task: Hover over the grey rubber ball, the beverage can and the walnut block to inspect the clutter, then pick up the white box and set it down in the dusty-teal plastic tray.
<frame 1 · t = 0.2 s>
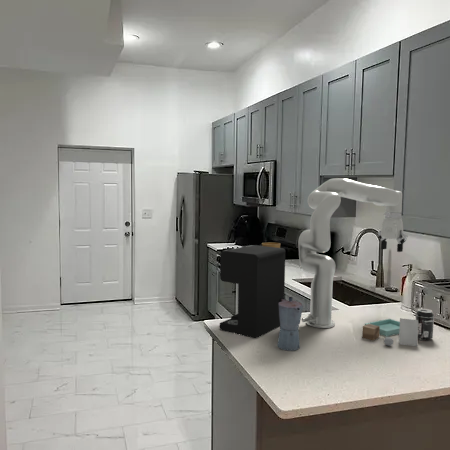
hand: (391, 250, 228), 31 cm above the counter, tool pointing down, fingers open, 9 cm apart
moka pot: (287, 347, 179), on the counter
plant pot: (270, 263, 370), on the counter
beverage can: (423, 338, 191), on the counter
grey ball: (388, 345, 182), on the counter
walnut block: (370, 338, 191), on the counter
white box: (407, 344, 184), on the counter
coffee maker: (254, 326, 205), on the counter
tray: (387, 329, 202), on the counter
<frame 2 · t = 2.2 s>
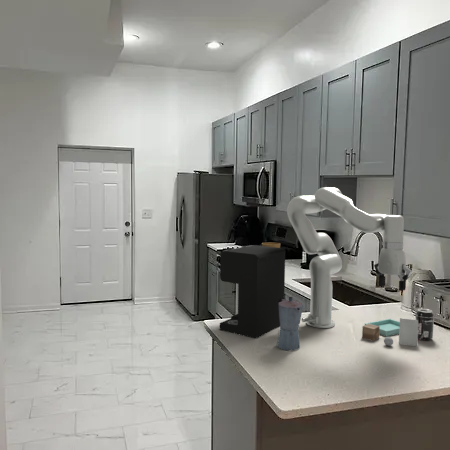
hand: (391, 288, 185), 22 cm above the counter, tool pointing down, fingers open, 9 cm apart
nothing on the counter moved.
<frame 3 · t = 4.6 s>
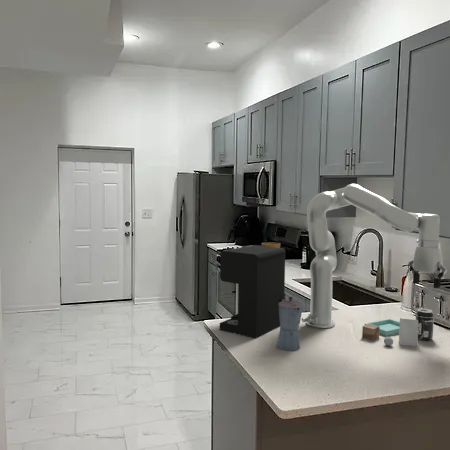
hand: (426, 285, 189), 22 cm above the counter, tool pointing down, fingers open, 9 cm apart
nothing on the counter moved.
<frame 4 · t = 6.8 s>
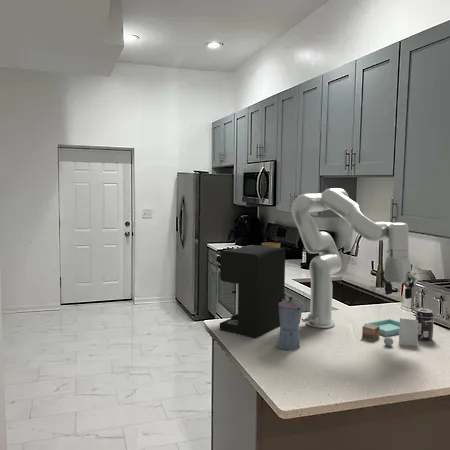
hand: (398, 296, 184), 19 cm above the counter, tool pointing down, fingers open, 9 cm apart
nothing on the counter moved.
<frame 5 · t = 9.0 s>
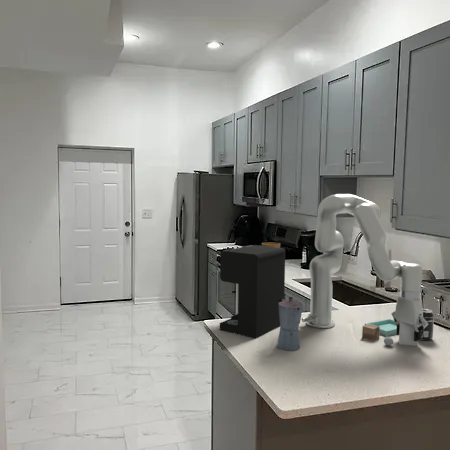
hand: (408, 337, 184), 2 cm above the counter, tool pointing down, fingers closed on white box, 7 cm apart
white box: (407, 344, 184), on the counter, touching gripper
everything else where it was.
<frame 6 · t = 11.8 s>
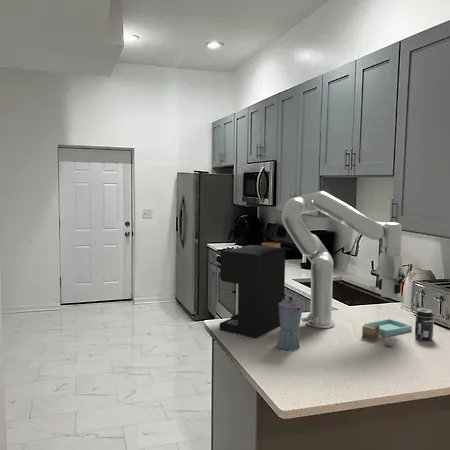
hand: (389, 291, 200), 17 cm above the counter, tool pointing down, fingers closed on white box, 7 cm apart
white box: (389, 297, 200), point 15 cm above the counter, touching gripper
everything else where it was.
when the fingers open (4 cm above the counter, at t = 14.7 s): white box drops 1 cm, resting on tray.
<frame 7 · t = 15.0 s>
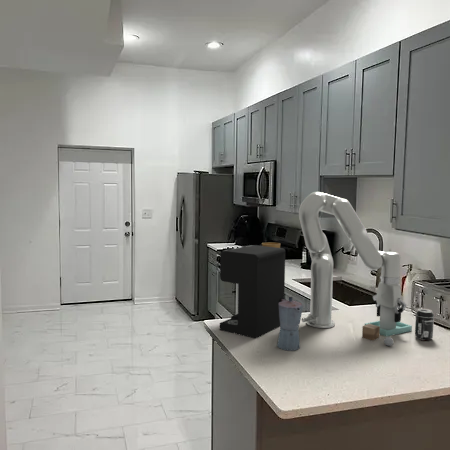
hand: (388, 318, 201), 5 cm above the counter, tool pointing down, fingers open, 9 cm apart
white box: (387, 328, 202), resting on tray
everything else where it was.
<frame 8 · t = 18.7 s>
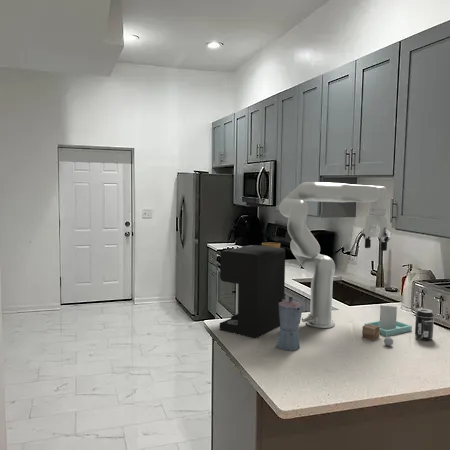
hand: (375, 249, 215), 33 cm above the counter, tool pointing down, fingers open, 9 cm apart
nothing on the counter moved.
at the end: white box inside the target area on the tray (0.2 cm from its centre), point 0.4 cm above the tray's base; the gripper is holding nothing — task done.
